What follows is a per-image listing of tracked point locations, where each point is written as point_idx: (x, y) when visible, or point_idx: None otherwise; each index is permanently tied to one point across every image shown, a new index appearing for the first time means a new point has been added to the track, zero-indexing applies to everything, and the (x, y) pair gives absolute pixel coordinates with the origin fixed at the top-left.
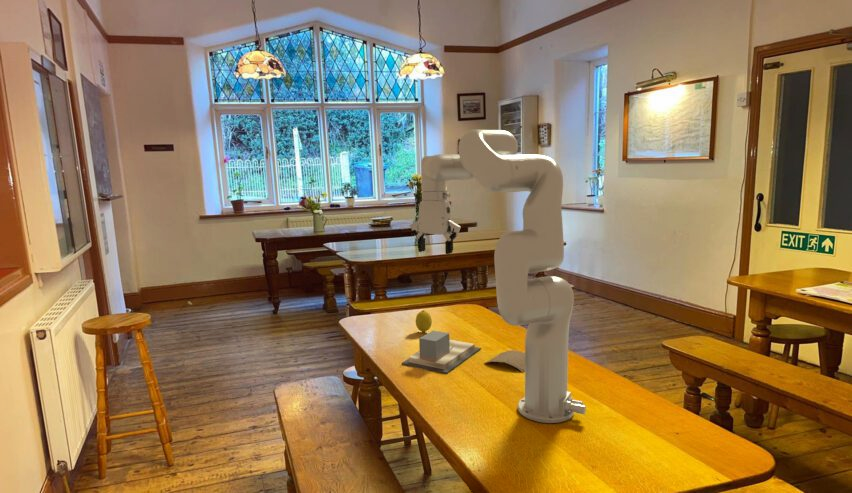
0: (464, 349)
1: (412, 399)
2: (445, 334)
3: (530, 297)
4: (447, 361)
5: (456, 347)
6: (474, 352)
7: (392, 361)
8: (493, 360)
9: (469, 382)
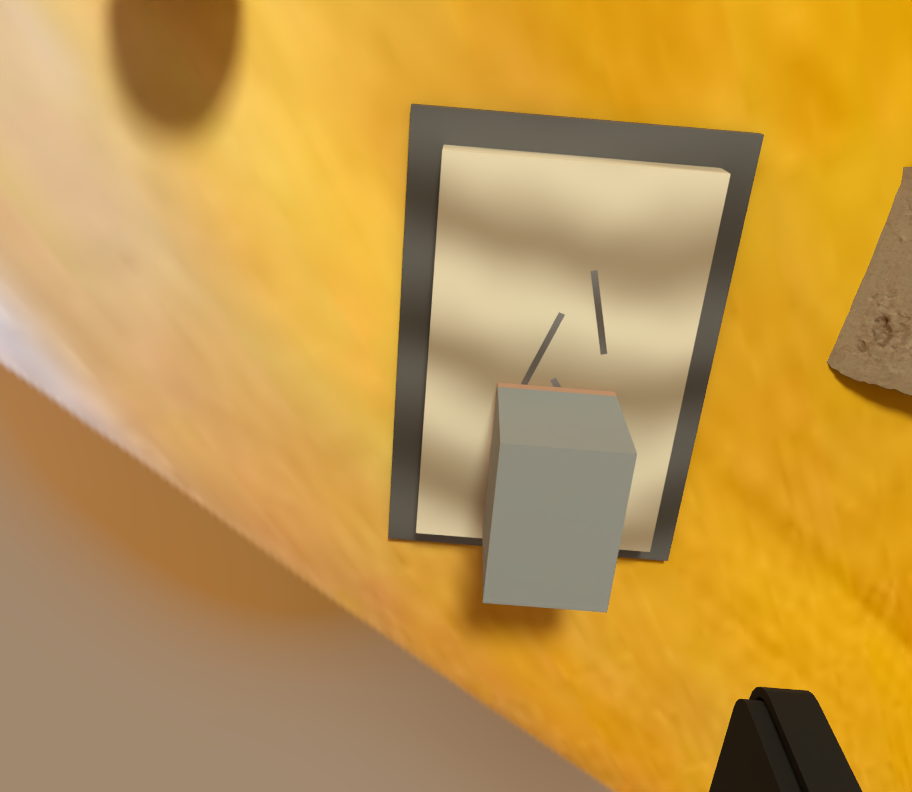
0: (690, 307)
1: (614, 785)
2: (620, 487)
3: None
4: (650, 512)
5: (626, 291)
6: (738, 239)
7: (319, 514)
8: (904, 379)
9: (801, 595)
